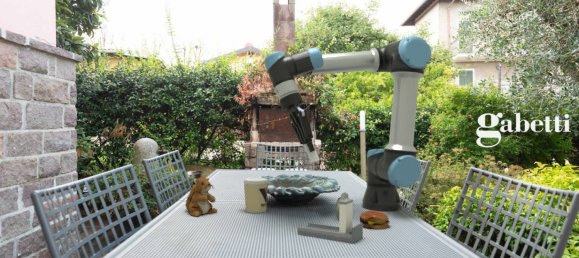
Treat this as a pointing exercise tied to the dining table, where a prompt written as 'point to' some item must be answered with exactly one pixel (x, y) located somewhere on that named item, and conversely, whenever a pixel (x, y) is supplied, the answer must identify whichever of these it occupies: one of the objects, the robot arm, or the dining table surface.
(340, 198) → the decorative bird
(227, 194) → the dining table surface
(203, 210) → the stuffed squirrel
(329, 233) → the fader rail
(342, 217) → the fader tab
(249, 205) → the coffee cup
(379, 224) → the burger
